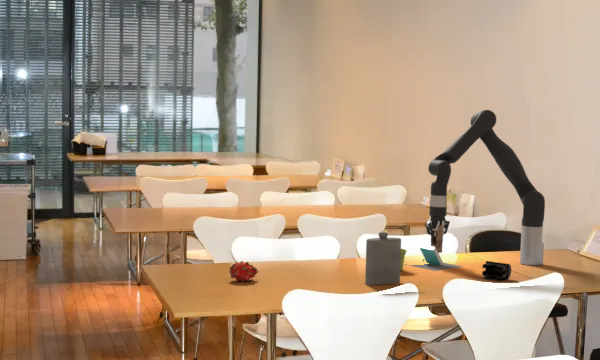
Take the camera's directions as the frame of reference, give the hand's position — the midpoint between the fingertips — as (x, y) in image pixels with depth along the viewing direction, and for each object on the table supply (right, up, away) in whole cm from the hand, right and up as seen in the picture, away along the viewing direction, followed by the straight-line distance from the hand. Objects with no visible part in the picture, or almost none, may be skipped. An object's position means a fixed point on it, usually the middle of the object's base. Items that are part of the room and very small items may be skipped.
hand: (436, 243), depth 368 cm
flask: (-28, -12, -42) cm, 52 cm away
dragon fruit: (-83, -11, -43) cm, 94 cm away
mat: (-3, -9, -2) cm, 10 cm away
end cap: (+20, -12, -29) cm, 37 cm away
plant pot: (-20, -10, -14) cm, 27 cm away
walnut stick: (0, -4, 0) cm, 4 cm away
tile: (-1, -8, 0) cm, 8 cm away
